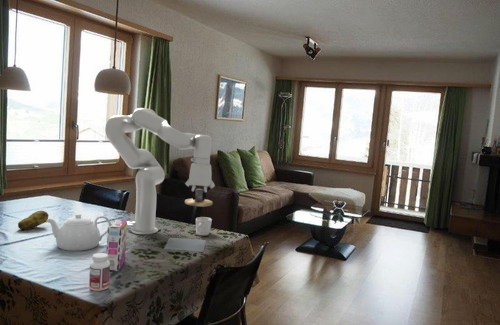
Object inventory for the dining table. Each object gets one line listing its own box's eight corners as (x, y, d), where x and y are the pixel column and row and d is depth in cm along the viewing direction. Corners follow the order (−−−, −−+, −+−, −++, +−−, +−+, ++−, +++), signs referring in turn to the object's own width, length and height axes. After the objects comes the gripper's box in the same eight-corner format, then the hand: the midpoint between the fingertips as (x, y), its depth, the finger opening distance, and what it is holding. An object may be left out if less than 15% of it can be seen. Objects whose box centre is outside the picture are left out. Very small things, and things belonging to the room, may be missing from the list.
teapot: (80, 255, 164) (81, 221, 163) (44, 247, 171) (45, 214, 169) (111, 243, 182) (112, 213, 180) (77, 236, 188) (78, 206, 187)
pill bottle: (106, 282, 141) (108, 251, 140) (111, 289, 136) (112, 257, 135) (87, 285, 138) (88, 253, 136) (91, 292, 132) (92, 259, 131)
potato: (16, 227, 194) (17, 210, 193) (46, 225, 202) (47, 208, 201) (18, 231, 187) (18, 214, 187) (49, 229, 195) (50, 212, 194)
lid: (182, 205, 191) (183, 190, 190) (186, 199, 203) (187, 186, 203) (211, 207, 191) (212, 193, 190) (213, 201, 204) (214, 188, 203)
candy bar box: (119, 271, 151) (121, 227, 150) (104, 271, 151) (107, 226, 149) (125, 261, 162) (127, 220, 161) (112, 260, 162) (114, 219, 160)
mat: (163, 250, 179) (163, 249, 179) (169, 238, 196) (169, 237, 196) (203, 252, 180) (203, 251, 180) (205, 241, 197) (205, 240, 196)
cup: (206, 239, 200) (207, 223, 199) (190, 237, 201) (191, 220, 201) (212, 233, 210) (213, 218, 210) (197, 231, 212) (198, 216, 211)
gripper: (182, 160, 191) (179, 199, 193) (218, 163, 191) (215, 202, 193) (185, 159, 199) (182, 196, 201) (220, 162, 199) (217, 199, 201)
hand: (198, 199), depth 197 cm, fingers closed on lid, 4 cm apart
